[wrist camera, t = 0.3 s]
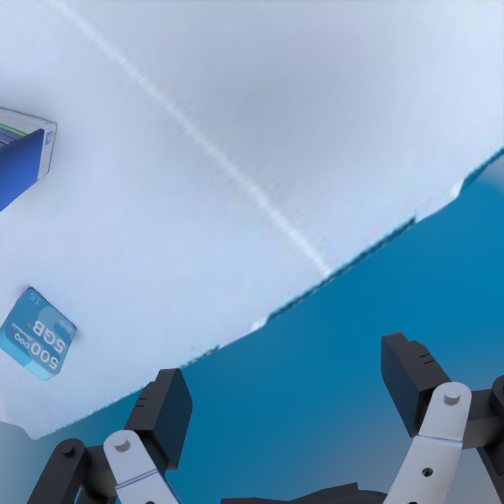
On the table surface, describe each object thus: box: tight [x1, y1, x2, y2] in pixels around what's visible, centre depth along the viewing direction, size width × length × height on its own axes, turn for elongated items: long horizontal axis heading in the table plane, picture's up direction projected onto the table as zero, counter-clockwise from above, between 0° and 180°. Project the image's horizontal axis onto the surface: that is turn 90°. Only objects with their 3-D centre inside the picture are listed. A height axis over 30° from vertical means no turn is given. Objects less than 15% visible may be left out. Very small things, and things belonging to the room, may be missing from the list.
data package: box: [0, 289, 75, 381], centre depth 44 cm, size 12×4×12 cm, turn 33°
